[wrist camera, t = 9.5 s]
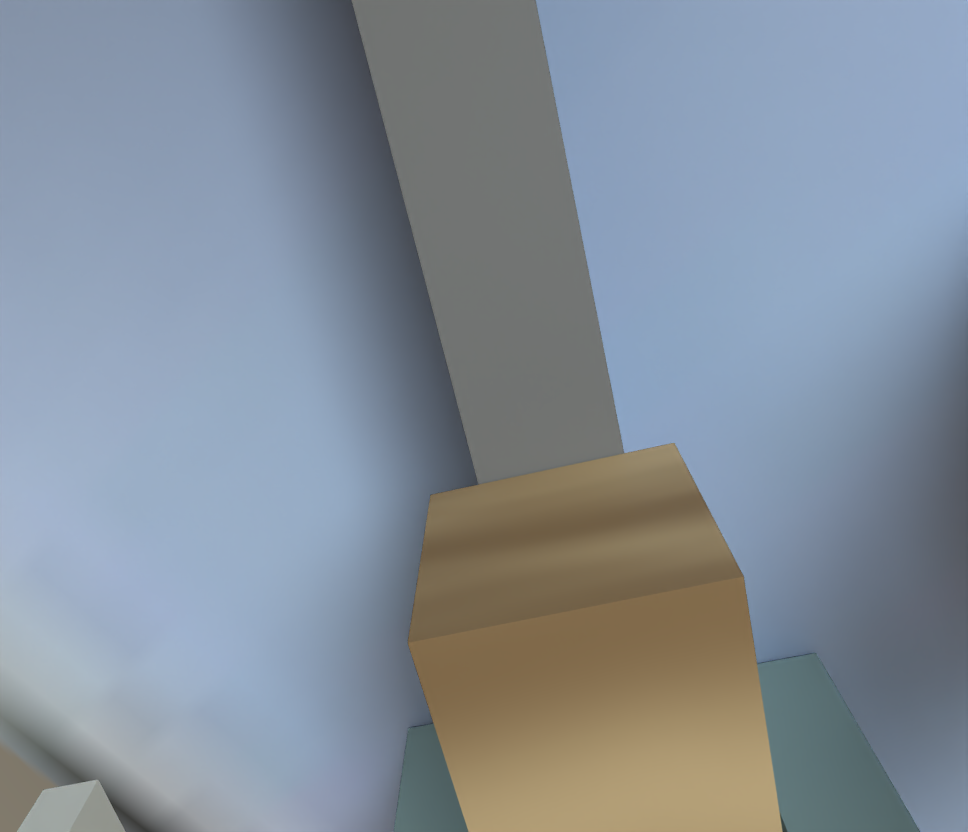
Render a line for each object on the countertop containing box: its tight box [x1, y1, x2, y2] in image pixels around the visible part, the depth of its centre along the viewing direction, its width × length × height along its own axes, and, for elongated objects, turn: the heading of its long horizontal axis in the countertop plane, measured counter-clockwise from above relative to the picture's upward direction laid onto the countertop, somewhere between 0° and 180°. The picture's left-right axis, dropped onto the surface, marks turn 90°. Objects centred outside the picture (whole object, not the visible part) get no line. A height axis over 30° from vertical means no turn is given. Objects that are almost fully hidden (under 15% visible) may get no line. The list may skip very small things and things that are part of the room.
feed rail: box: [352, 0, 624, 485], centre depth 14 cm, size 15×2×4 cm, turn 13°
